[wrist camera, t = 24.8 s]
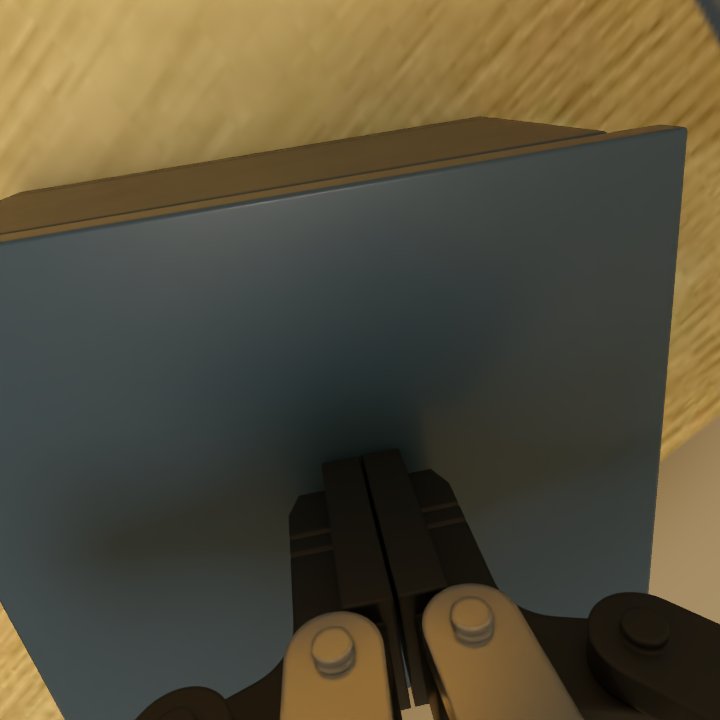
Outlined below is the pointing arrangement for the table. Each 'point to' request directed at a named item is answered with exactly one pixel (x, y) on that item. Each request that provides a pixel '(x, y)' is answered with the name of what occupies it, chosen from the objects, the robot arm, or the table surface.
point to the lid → (327, 397)
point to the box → (273, 170)
